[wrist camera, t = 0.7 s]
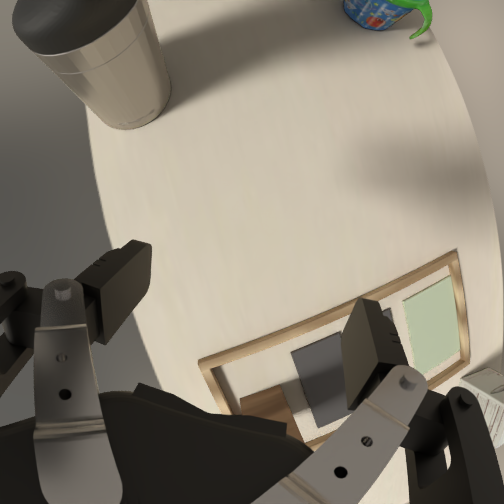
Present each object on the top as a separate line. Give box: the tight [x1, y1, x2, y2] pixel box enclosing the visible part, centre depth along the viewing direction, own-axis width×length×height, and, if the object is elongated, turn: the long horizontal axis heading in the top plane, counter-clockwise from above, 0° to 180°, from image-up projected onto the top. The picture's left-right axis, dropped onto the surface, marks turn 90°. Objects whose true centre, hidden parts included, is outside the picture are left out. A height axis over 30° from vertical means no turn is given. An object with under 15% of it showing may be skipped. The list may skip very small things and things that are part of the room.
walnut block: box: [240, 384, 305, 444], centre depth 29 cm, size 5×5×12 cm
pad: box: [402, 275, 460, 375], centre depth 36 cm, size 12×8×1 cm
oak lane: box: [198, 251, 470, 451], centre depth 35 cm, size 18×35×1 cm, turn 110°
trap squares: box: [291, 309, 392, 428], centre depth 35 cm, size 12×13×1 cm
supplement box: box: [459, 368, 504, 448], centre depth 32 cm, size 7×7×13 cm
